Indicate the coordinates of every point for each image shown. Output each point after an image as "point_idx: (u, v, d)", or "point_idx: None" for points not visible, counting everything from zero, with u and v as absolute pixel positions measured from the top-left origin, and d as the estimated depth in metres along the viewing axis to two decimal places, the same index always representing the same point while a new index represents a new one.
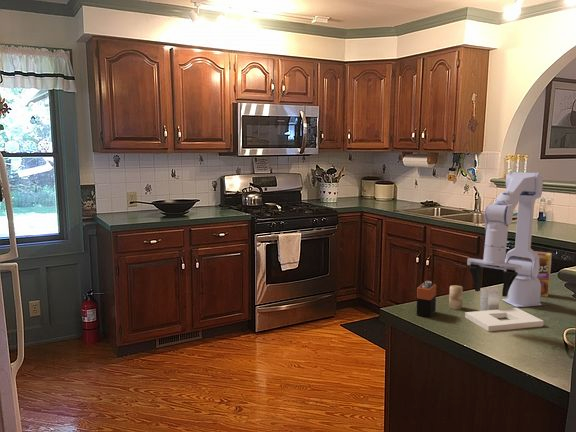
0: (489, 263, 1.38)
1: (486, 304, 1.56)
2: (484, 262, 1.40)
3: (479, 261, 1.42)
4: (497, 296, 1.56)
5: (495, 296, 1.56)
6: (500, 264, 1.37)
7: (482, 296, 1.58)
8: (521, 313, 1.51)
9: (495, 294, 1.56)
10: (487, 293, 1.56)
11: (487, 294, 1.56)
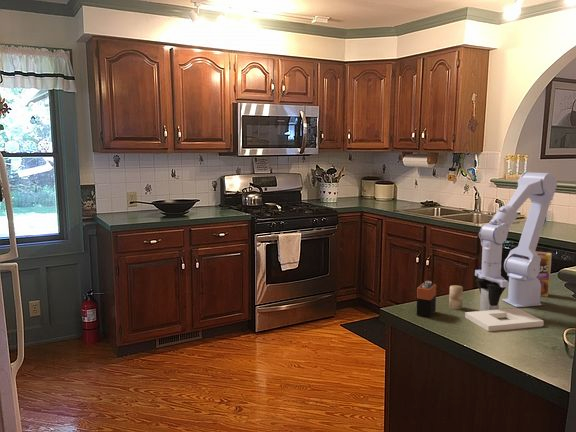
0: (479, 277, 1.56)
1: (486, 304, 1.56)
2: None
3: (479, 274, 1.60)
4: None
5: None
6: (489, 278, 1.54)
7: (482, 296, 1.58)
8: (521, 313, 1.51)
9: None
10: (487, 293, 1.56)
11: (487, 294, 1.56)
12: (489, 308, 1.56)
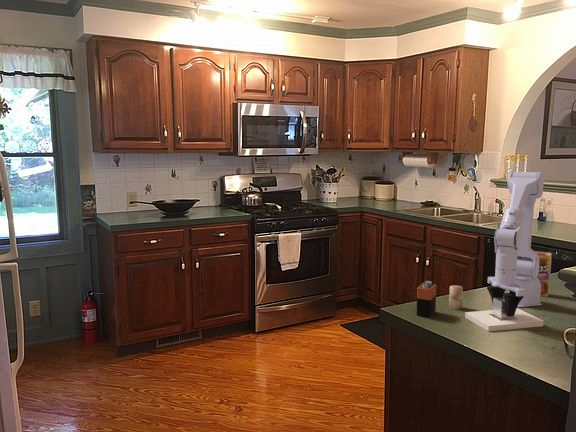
0: (493, 285, 1.46)
1: (499, 315, 1.46)
2: (493, 283, 1.48)
3: (492, 281, 1.50)
4: None
5: None
6: (503, 286, 1.44)
7: (495, 306, 1.48)
8: (521, 313, 1.51)
9: None
10: (500, 303, 1.46)
11: (500, 304, 1.46)
12: (502, 319, 1.46)
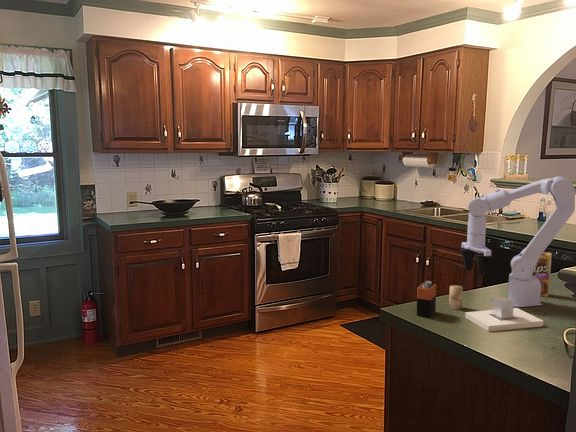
0: (465, 247, 1.67)
1: (499, 315, 1.46)
2: None
3: (465, 245, 1.71)
4: (511, 306, 1.46)
5: (509, 306, 1.46)
6: (474, 248, 1.65)
7: (495, 306, 1.48)
8: (521, 313, 1.51)
9: (509, 304, 1.46)
10: (500, 303, 1.46)
11: (500, 304, 1.46)
12: (502, 319, 1.46)
